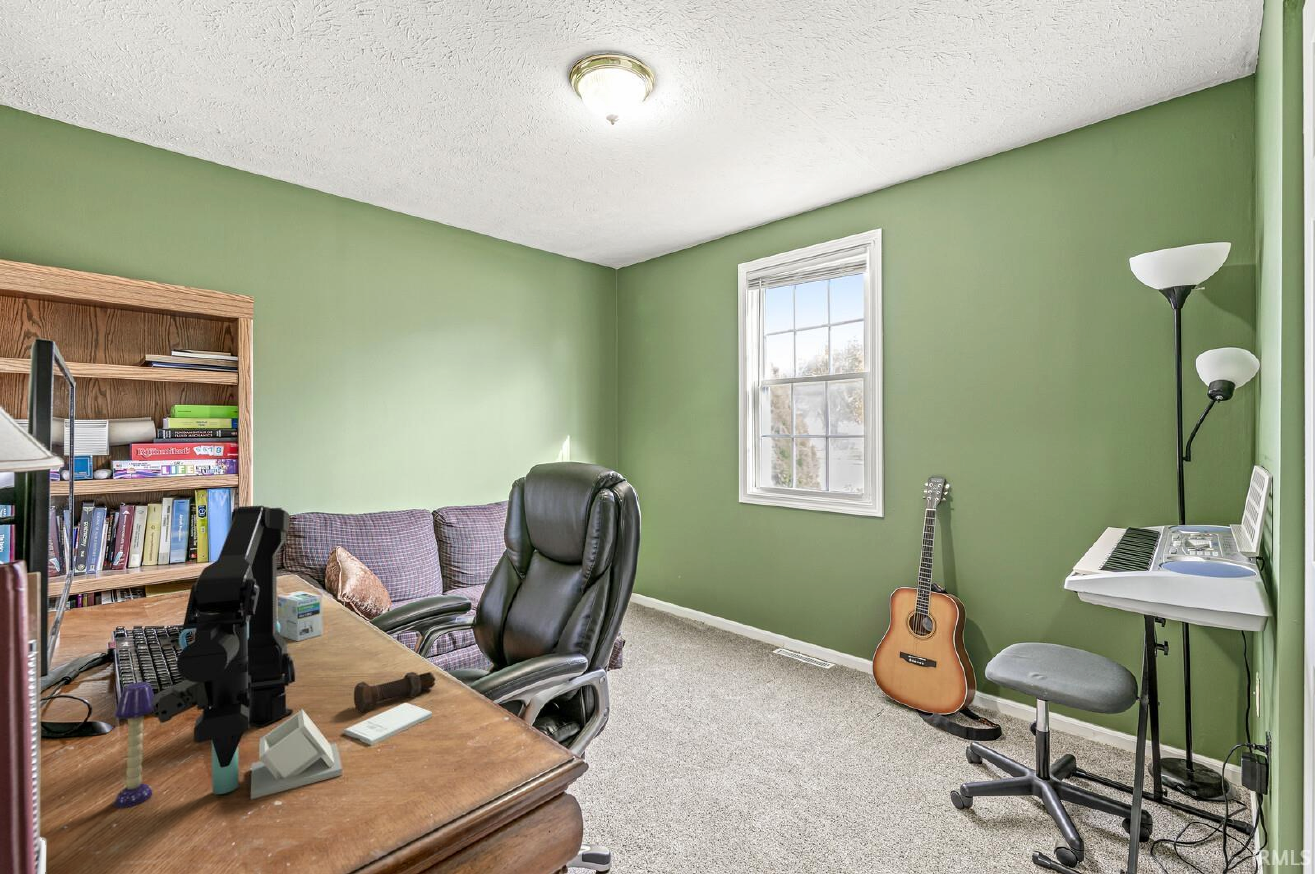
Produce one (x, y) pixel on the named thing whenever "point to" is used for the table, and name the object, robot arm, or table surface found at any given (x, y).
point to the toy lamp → (134, 741)
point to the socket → (293, 757)
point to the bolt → (391, 690)
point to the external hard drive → (388, 723)
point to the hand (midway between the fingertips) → (225, 760)
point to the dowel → (224, 774)
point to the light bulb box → (299, 615)
